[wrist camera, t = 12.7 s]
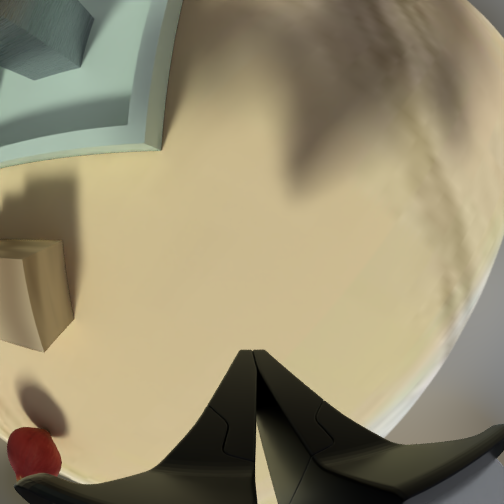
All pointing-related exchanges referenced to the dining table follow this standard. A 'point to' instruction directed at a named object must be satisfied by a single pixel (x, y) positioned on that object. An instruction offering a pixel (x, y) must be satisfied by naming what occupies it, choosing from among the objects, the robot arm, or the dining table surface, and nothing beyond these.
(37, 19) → the pin
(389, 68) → the dining table surface
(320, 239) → the dining table surface
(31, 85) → the tray
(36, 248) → the block
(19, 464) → the onion
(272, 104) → the dining table surface
